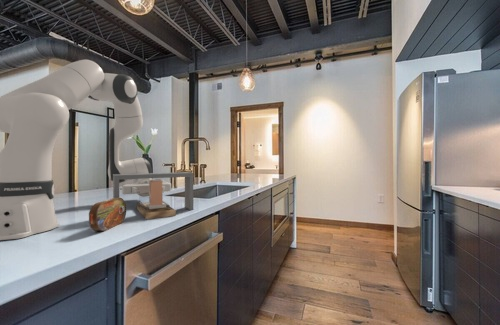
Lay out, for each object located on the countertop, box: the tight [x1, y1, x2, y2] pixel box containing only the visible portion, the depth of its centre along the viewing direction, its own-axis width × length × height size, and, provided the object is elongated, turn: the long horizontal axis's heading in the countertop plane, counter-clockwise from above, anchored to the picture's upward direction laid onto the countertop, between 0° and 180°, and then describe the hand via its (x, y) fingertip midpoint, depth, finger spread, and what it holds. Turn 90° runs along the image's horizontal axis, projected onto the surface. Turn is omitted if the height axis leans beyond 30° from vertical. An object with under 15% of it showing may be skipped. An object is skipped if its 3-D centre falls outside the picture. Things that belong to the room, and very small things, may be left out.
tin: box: [88, 197, 127, 232], centre depth 72 cm, size 15×3×8 cm, turn 179°
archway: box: [112, 171, 194, 211], centre depth 92 cm, size 28×6×15 cm, turn 123°
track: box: [136, 201, 177, 220], centre depth 93 cm, size 10×22×3 cm, turn 33°
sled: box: [145, 180, 167, 209], centre depth 91 cm, size 6×7×10 cm
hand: (150, 189), depth 100 cm, fingers open, 8 cm apart
